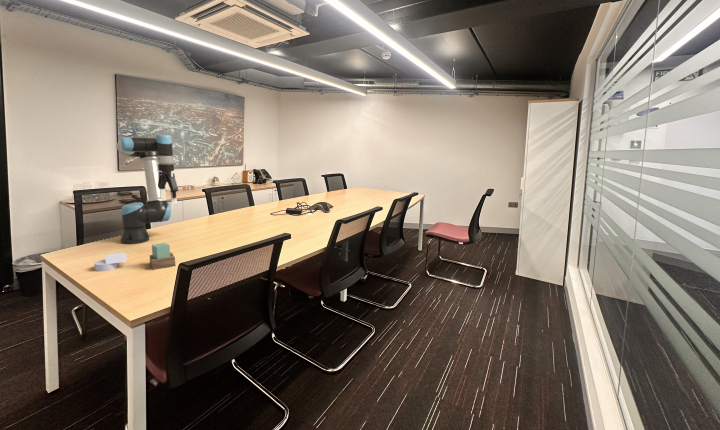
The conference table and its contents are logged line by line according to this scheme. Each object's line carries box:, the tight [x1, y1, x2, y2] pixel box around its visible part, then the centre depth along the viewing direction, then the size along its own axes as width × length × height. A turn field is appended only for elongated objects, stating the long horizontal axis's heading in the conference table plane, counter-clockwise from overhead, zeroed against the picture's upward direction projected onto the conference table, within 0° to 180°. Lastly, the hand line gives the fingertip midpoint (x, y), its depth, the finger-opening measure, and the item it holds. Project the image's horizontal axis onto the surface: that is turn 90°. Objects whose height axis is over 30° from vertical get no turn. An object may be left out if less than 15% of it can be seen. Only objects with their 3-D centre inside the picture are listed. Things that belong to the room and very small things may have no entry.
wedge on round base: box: [93, 252, 128, 272], centre depth 175 cm, size 9×7×13 cm
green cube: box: [151, 242, 171, 259], centre depth 179 cm, size 6×6×6 cm
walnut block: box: [149, 251, 176, 271], centre depth 180 cm, size 10×10×5 cm
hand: (168, 202), depth 196 cm, fingers open, 13 cm apart
